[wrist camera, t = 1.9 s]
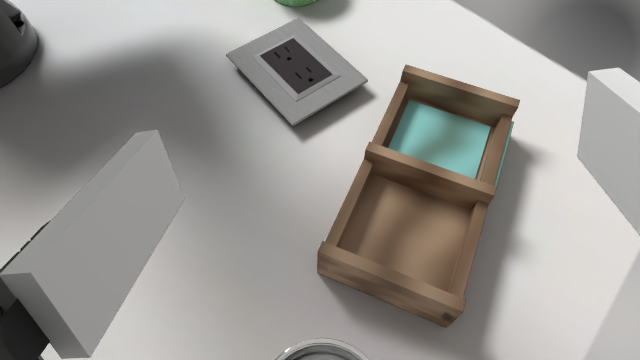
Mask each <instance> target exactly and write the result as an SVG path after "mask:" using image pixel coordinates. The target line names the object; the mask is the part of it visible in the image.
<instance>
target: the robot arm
mask: <svg viewBox="0 0 640 360" xmlns="http://www.w3.org/2000/svg"><path fill="white" fill-rule="evenodd" d="M36 49H37V35H36V32H35V30H34V28H33V27H32V25H31V24H30V22H29V21H28V19H27V18H26V16H25V15H24V14H23V13H22V12H21V11H20V10H19V9H18V8H17V7H16V6H15V5H13V4H12V3H11V2H10V1H8V0H0V87H2V86H4V85H5V84H7V83H8V82H10V81H11V80H13V79H14V78H15V77H17V76H18V75H19V74H20V73H21V72H22V71H23V70H24V69H25V68H26V67H27V66H28V64H29V63H30V61H31V60H32V58H33V56H34V54H35V52H36ZM577 157H578V159H579V160H580V161H581V162H582V164H583V165H584V166H585V168H586V169H587V170H588V171H589V173H590V174H591V175H592V176H593V178H594V179H595V180H596V181H597V183H598V184H599V185H600V186H601V188H602V189H603V190H604V191H605V193H606V194H607V195H608V196H609V198H610V199H611V200H612V201H613V203H614V204H615V205H616V206H617V208H618V209H619V210H620V212H621V213H622V214H623V215H624V217H625V218H626V219H627V220H628V222H629V223H630V224H631V225H632V227H633V228H634V229H635V230H636V232H637V233H638V234H639V235H640V82H638V81H637V80H635V79H634V78H633V77H631V76H630V75H628V74H627V73H626V72H624V71H623V70H621V69H620V68H613V69H605V70H597V71H590V72H589V73H588V80H587V87H586V95H585V102H584V109H583V116H582V124H581V131H580V138H579V146H578V153H577ZM184 199H185V196H184V193H183V191H182V188H181V186H180V183H179V181H178V178H177V176H176V174H175V171H174V169H173V166H172V164H171V161H170V159H169V156H168V154H167V151H166V149H165V147H164V144H163V142H162V139H161V137H160V134H159V132H158V129H157V130H149V131H142V132H136V133H135V134H134V135H133V136H132V137H131V138H130V139H129V140H128V141H127V142H126V143H125V144H124V145H123V147H122V148H121V149H120V150H119V151H118V152H117V153H116V154H115V155H114V156H113V157H112V158H111V159H110V160H109V161H108V162H107V163H106V164H105V165H104V166H103V167H102V168H101V169H100V170H99V171H98V172H97V173H96V175H95V176H94V177H93V178H92V179H91V180H90V181H89V182H88V183H87V184H86V185H85V186H84V187H83V188H82V189H81V190H80V191H79V192H78V193H77V194H76V195H75V196H74V197H73V198H72V199H71V200H70V201H69V203H68V204H67V205H66V206H65V207H64V208H63V209H62V210H61V211H60V212H59V213H58V214H57V215H56V216H55V217H54V218H53V219H52V220H51V221H49V222H48V223H46V224H45V225H43V226H42V227H41V228H40V229H39V230H38V231H37V233H36V234H35V235H34V236H33V237H32V238H31V241H28V242H27V243H26V244H25V245H24V246H23V247H22V248H21V249H20V250H21V251H20V252H17V253H16V254H15V255H14V256H13V257H12V258H11V259H10V260H9V261H8V262H7V263H6V264H5V265H4V266H3V267H2V268H1V269H0V360H44V359H43V358H42V357H41V353H42V352H43V351H44V349H45V348H46V346H47V345H48V343H50V344H51V345H52V347H53V348H54V349H55V351H56V352H57V353H58V354H59V356H60V357H61V358H62V359H66V358H90V357H91V355H92V354H93V352H94V350H95V349H96V347H97V345H98V344H99V342H100V340H101V339H102V337H103V335H104V333H105V332H106V330H107V328H108V327H109V325H110V323H111V322H112V320H113V318H114V317H115V315H116V313H117V312H118V310H119V308H120V307H121V305H122V303H123V302H124V300H125V298H126V297H127V295H128V293H129V292H130V290H131V288H132V287H133V285H134V283H135V281H136V280H137V278H138V276H139V275H140V273H141V271H142V270H143V268H144V266H145V265H146V263H147V261H148V260H149V258H150V256H151V255H152V253H153V251H154V250H155V248H156V246H157V245H158V243H159V241H160V240H161V238H162V236H163V235H164V233H165V231H166V229H167V228H168V226H169V224H170V223H171V221H172V219H173V218H174V216H175V214H176V213H177V211H178V209H179V208H180V206H181V204H182V203H183V201H184Z"/></svg>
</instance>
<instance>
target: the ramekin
mask: <svg viewBox="0 0 640 360" xmlns="http://www.w3.org/2000/svg"><path fill="white" fill-rule="evenodd" d="M276 1H278V2H280V3H282V4H285V5H289V6H303V5H308V4H311V3H313V2H315V1H317V0H276Z"/></svg>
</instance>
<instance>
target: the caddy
mask: <svg viewBox="0 0 640 360" xmlns="http://www.w3.org/2000/svg"><path fill="white" fill-rule="evenodd" d="M519 102H520V100H518V99H514V98H511V97H508V96H505V95H502V94H498V93H495V92H492V91H489V90H486V89H482V88H479V87H476V86H473V85H470V84H467V83H463V82H460V81H457V80H454V79H451V78H447V77H444V76H441V75H438V74H435V73H431V72H428V71H425V70H422V69H419V68H415V67H412V66H409V65H405V67H404V69H403V72H402V76H401V80H400V83H399V85H398V87H397V89H396V91H395V94H394V96H393V98H392V100H391V102H390V104H389V106H388V109H387V111H386V113H385V115H384V117H383V119H382V121H381V124H380V126H379V128H378V130H377V132H376V134H375V136H374V139H373V141H372V142H369V144H368V146H367V148H366V150H365V156H364V160H363V162H362V164H361V166H360V168H359V171H358V173H357V175H356V177H355V179H354V181H353V183H352V186H351V188H350V190H349V192H348V194H347V196H346V198H345V201H344V203H343V205H342V207H341V209H340V211H339V213H338V216H337V218H336V220H335V222H334V224H333V226H332V228H331V231H330V233H329V235H328V237H327V239H326V241H325V242H324V241H322V243H321V246H320V248H319V250H318V260H317V273H319V274H322V275H324V276H326V277H329V278H331V279H333V280H336V281H338V282H340V283H343V284H345V285H347V286H350V287H352V288H354V289H357V290H359V291H362V292H364V293H366V294H369V295H371V296H373V297H376V298H378V299H380V300H383V301H385V302H387V303H390V304H392V305H394V306H397V307H399V308H401V309H404V310H406V311H408V312H411V313H413V314H415V315H418V316H420V317H422V318H425V319H427V320H430V321H432V322H434V323H437V324H439V325H441V326H444V327H447V326H448V325H450V324H451V323H452V322H453V321H454V320H455V319H456V318H457V317H458V316H459V315H460V314H461V313H462V312H463V310H464V306H465V303H466V300H465V299H463V295H464V292H465V288H466V284H467V281H468V277H469V273H470V270H471V266H472V262H473V259H474V255H475V252H476V248H477V244H478V241H479V237H480V233H481V230H482V226H483V222H484V219H485V215H486V211H487V208H488V204H489V203H490V201H491V200H492V198H493V197H494V195H495V191H496V188H497V183H498V180H499V176H500V172H501V168H502V165H503V161H504V157H505V154H506V150H507V146H508V143H509V139H510V135H511V131H512V128H513V124H514V122H512V121H511V120H512V117H513V115H514V113H515V112H516V110H517V108H518V106H519Z"/></svg>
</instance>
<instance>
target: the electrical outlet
mask: <svg viewBox="0 0 640 360" xmlns="http://www.w3.org/2000/svg"><path fill="white" fill-rule="evenodd" d="M226 56H227V57H228V58H229V59H230V60H231V61H232V62H233V63H234V65H235V66H236V67H237V68H238V69H239V70H240V71H241V72H242V73H243V74H244V75H245V76H246V77H247V78H248V79H249V80H250V82H251V83H252V84H253V85H254V86H255V87H256V88H257V89H258V90H259V91H260V92H261V93H262V94H263V95H264V96H265V97H266V98H267V100H268V101H269V102H270V103H271V104H272V105H273V106H274V107H275V108H276V109H277V110H278V111H279V112H280V113H281V114H282V115H283V116H284V118H285V119H286V120H287V121H288V122H289V123H290V124H291V125H292V126H294V125H296V124H297V123H299V122H301V121H302V120H304V119H306V118H307V117H309V116H311V115H312V114H314V113H316V112H317V111H319V110H321V109H322V108H324V107H326V106H327V105H329V104H331V103H332V102H334V101H336V100H338V99H339V98H341V97H343V96H344V95H346V94H348V93H349V92H351V91H353V90H354V89H356V88H358V87H359V86H361V85H363V84H364V83H366V82H367V81H368V79H367V78H365V77H364V76H363V75H362V74H361V73H360V72H359V71H358V70H356V69H355V68H354V67H353V66H352V65H351V64H350V63H349V62H347V61H346V60H345V59H344V58H343V57H342V56H341V55H340V54H339V53H337V52H336V51H335V50H334V49H333V48H332V47H331V46H330V45H328V44H327V43H326V42H325V41H324V40H323V39H322V38H321V37H319V36H318V35H317V34H316V33H315V32H314V31H313V30H312V29H310V28H309V27H308V26H307V25H306V24H305V23H304V22H303V21H301V20H300V19H299V18H297V19H295V20H293V21H291V22H289V23H287V24H285V25H283V26H281V27H279V28H277V29H275V30H273V31H271V32H269V33H267V34H265V35H263V36H261V37H259V38H257V39H255V40H253V41H251V42H249V43H247V44H245V45H243V46H241V47H239V48H237V49H236V50H234V51H232V52H230V53H228V54H226Z"/></svg>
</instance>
